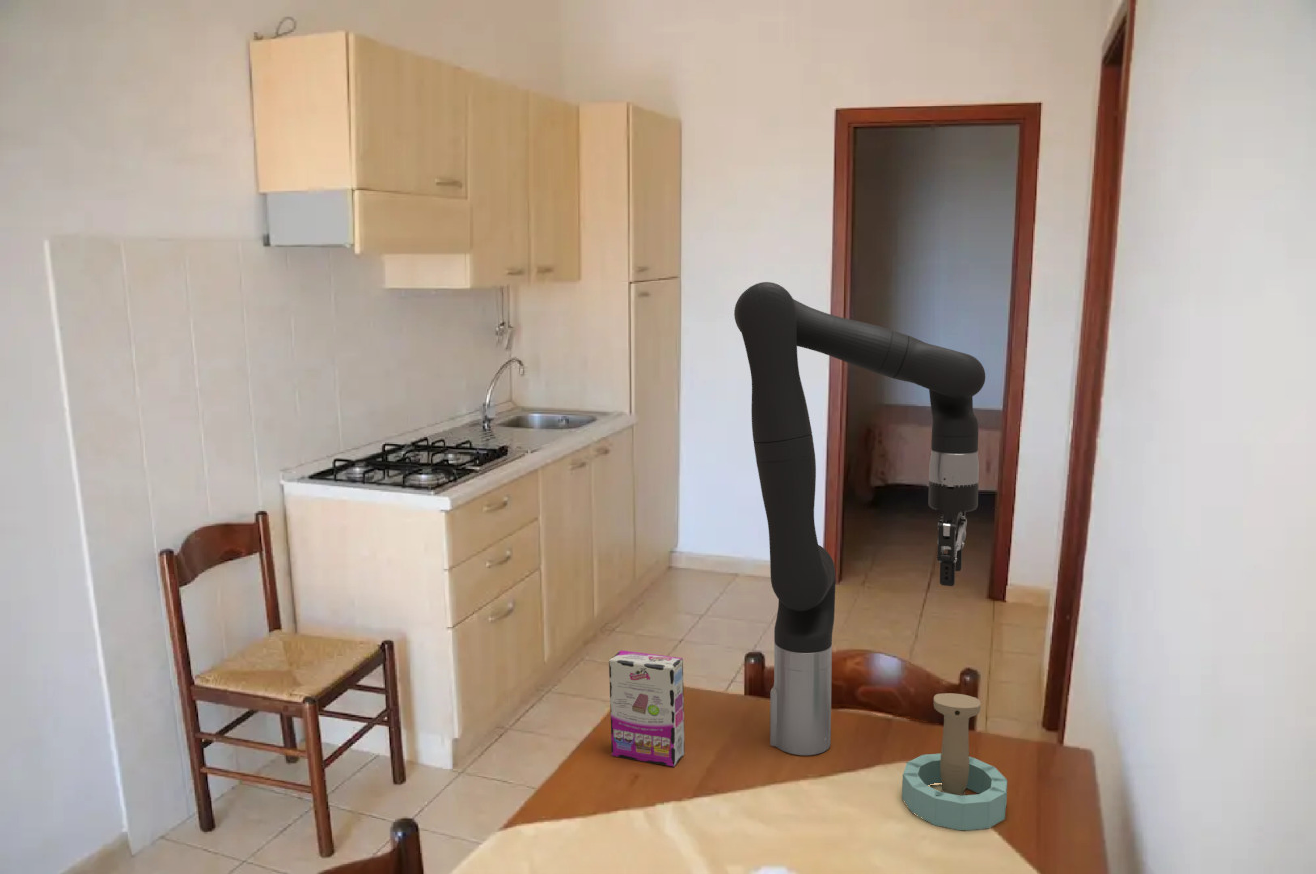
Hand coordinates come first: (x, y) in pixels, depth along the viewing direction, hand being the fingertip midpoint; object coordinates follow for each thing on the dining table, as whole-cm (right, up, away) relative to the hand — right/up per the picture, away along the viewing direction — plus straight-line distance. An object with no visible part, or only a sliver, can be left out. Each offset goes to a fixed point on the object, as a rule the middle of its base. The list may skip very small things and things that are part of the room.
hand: (950, 577), depth 152 cm
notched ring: (-4, -30, -15) cm, 34 cm away
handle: (-4, -30, -14) cm, 34 cm away
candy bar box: (-49, -29, 0) cm, 57 cm away
